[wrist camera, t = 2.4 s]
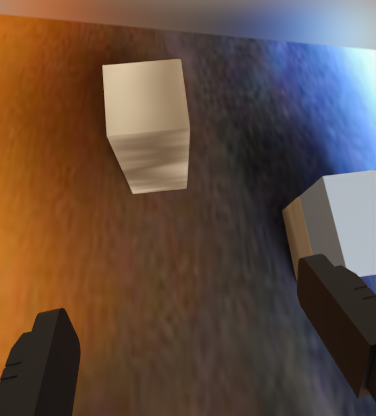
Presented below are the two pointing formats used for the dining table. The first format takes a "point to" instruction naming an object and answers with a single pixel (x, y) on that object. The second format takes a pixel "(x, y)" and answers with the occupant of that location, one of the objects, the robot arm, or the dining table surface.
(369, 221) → the tower mid
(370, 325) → the robot arm
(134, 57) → the dining table surface
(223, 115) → the dining table surface
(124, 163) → the maple block
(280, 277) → the dining table surface
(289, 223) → the tower base
